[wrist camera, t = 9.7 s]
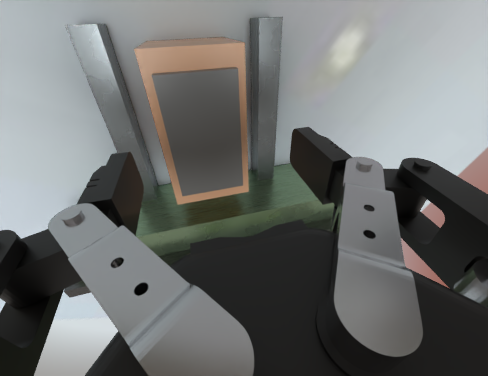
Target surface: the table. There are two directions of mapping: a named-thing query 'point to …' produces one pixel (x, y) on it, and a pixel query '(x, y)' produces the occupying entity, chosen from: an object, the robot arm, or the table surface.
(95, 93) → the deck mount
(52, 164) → the table surface
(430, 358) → the robot arm
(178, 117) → the framed panel box
